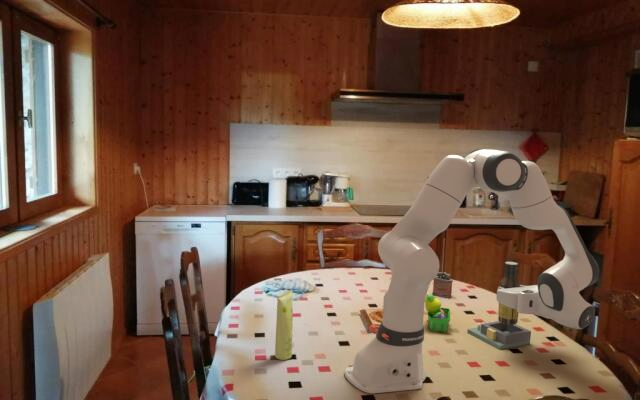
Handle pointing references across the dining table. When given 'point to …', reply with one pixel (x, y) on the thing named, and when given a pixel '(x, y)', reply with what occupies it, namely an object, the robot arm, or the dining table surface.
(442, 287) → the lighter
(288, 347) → the tube
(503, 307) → the sauce bottle
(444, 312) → the fruit basket
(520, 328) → the socket
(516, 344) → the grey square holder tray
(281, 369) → the dining table surface
